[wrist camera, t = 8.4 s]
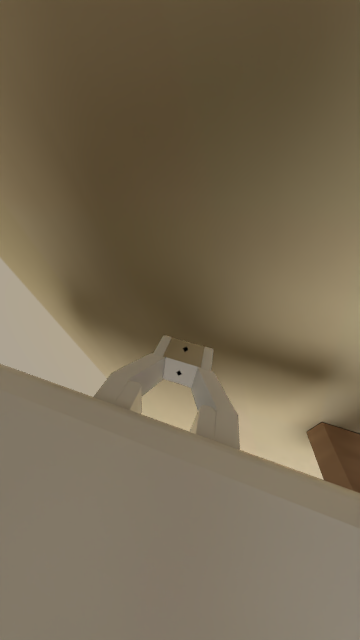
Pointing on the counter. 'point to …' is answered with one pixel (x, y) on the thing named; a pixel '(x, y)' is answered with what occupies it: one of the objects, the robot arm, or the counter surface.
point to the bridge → (337, 455)
